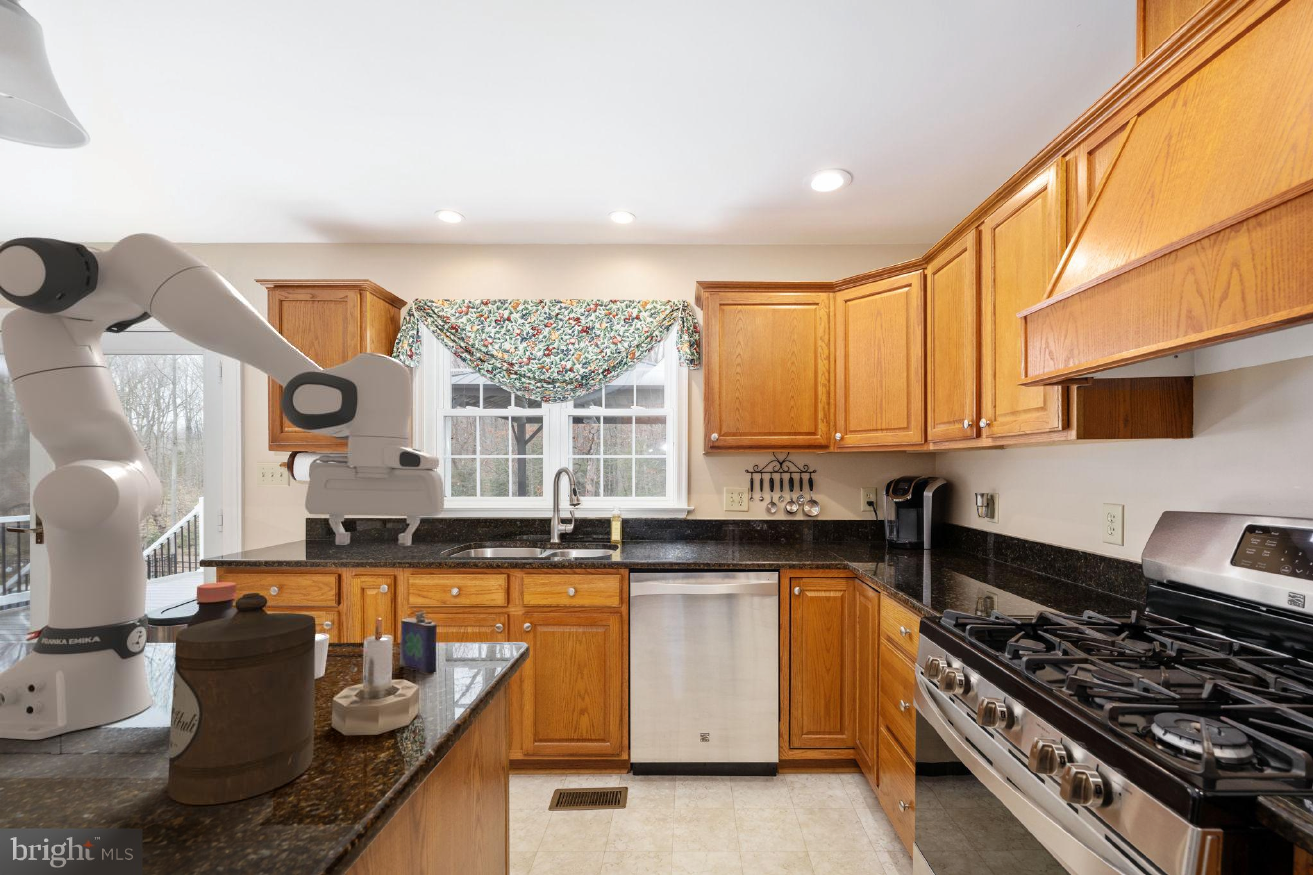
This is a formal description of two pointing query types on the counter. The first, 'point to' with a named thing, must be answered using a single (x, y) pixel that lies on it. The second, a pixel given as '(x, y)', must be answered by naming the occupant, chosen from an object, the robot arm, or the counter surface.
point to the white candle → (377, 664)
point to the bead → (375, 709)
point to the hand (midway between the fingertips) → (373, 544)
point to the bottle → (214, 602)
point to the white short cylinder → (320, 653)
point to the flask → (418, 644)
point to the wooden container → (242, 704)
